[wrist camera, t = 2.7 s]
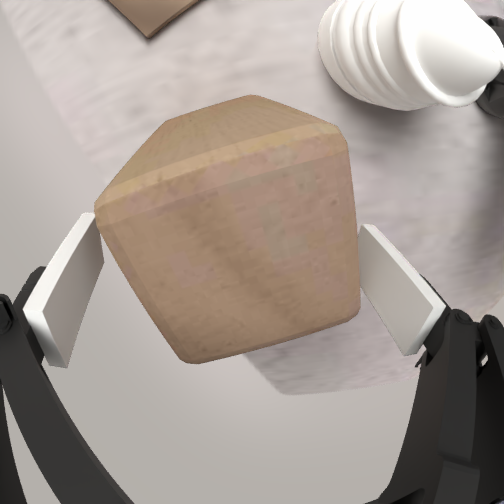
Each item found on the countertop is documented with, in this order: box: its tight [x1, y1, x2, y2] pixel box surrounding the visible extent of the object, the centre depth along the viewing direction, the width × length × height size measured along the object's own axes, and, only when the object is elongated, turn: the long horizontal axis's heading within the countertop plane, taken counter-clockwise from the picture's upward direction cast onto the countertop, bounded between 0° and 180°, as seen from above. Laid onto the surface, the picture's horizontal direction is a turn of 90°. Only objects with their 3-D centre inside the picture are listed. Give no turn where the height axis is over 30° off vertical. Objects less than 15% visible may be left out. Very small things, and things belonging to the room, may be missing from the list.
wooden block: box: [94, 95, 360, 364], centre depth 20 cm, size 10×10×20 cm
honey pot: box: [318, 0, 504, 111], centre depth 16 cm, size 13×13×18 cm
